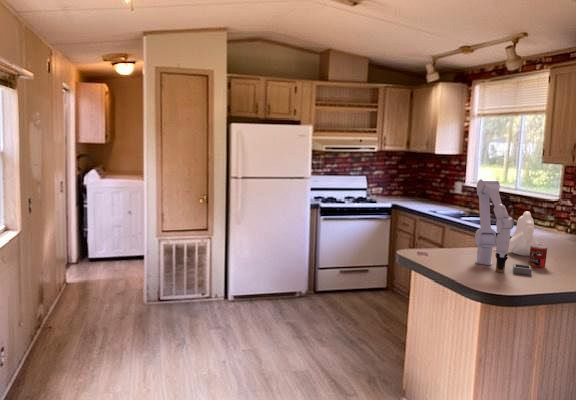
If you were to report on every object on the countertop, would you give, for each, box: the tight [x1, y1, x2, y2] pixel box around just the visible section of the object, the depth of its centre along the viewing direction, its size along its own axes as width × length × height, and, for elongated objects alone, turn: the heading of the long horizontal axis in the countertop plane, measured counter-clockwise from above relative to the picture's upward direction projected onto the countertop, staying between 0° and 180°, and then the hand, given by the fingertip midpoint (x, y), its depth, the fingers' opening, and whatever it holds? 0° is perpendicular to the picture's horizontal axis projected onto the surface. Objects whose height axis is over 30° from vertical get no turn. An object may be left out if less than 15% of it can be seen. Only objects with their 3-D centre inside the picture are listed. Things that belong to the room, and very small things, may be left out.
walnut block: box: [495, 261, 506, 274], centre depth 255 cm, size 4×4×6 cm
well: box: [512, 263, 533, 277], centre depth 255 cm, size 8×8×3 cm
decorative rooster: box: [508, 210, 539, 257], centre depth 291 cm, size 25×16×25 cm, turn 152°
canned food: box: [528, 244, 548, 269], centre depth 268 cm, size 8×8×11 cm
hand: (500, 268), depth 255 cm, fingers closed on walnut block, 4 cm apart
